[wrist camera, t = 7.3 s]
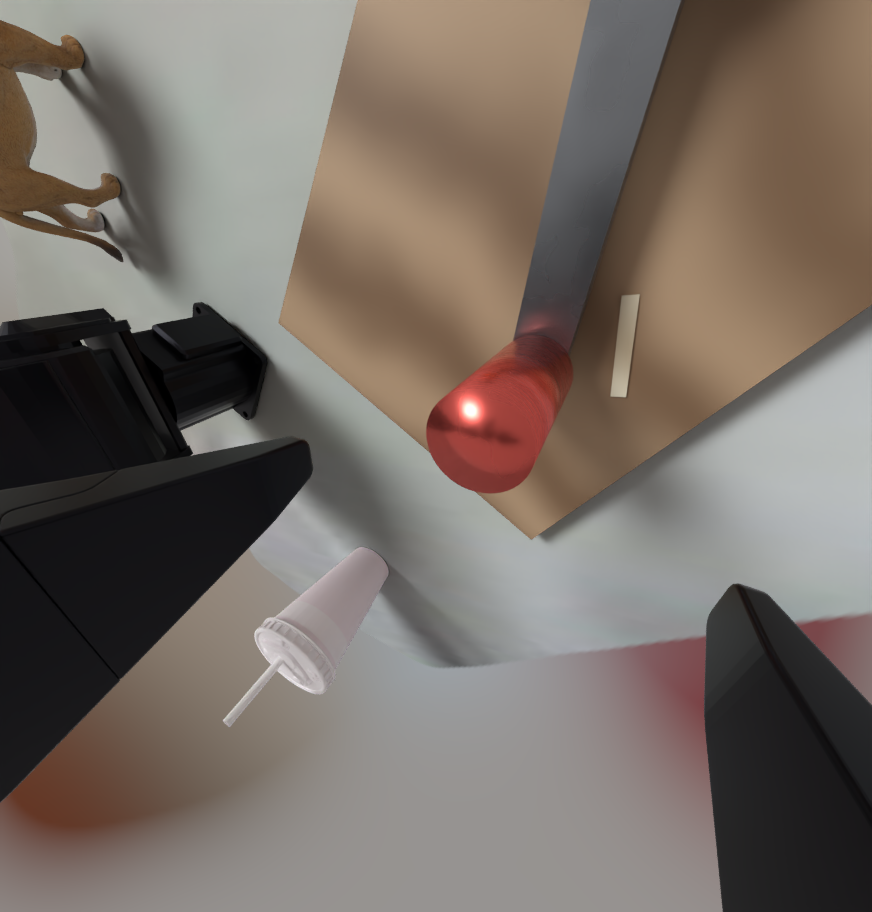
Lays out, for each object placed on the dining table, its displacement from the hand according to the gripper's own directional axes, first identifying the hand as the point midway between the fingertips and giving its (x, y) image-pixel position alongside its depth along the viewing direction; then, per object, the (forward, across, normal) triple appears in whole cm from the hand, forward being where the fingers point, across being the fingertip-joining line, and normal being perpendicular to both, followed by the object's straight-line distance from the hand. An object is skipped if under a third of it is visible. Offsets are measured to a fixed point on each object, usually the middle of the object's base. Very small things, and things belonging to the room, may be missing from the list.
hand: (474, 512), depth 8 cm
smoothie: (+12, +12, +20) cm, 27 cm away
